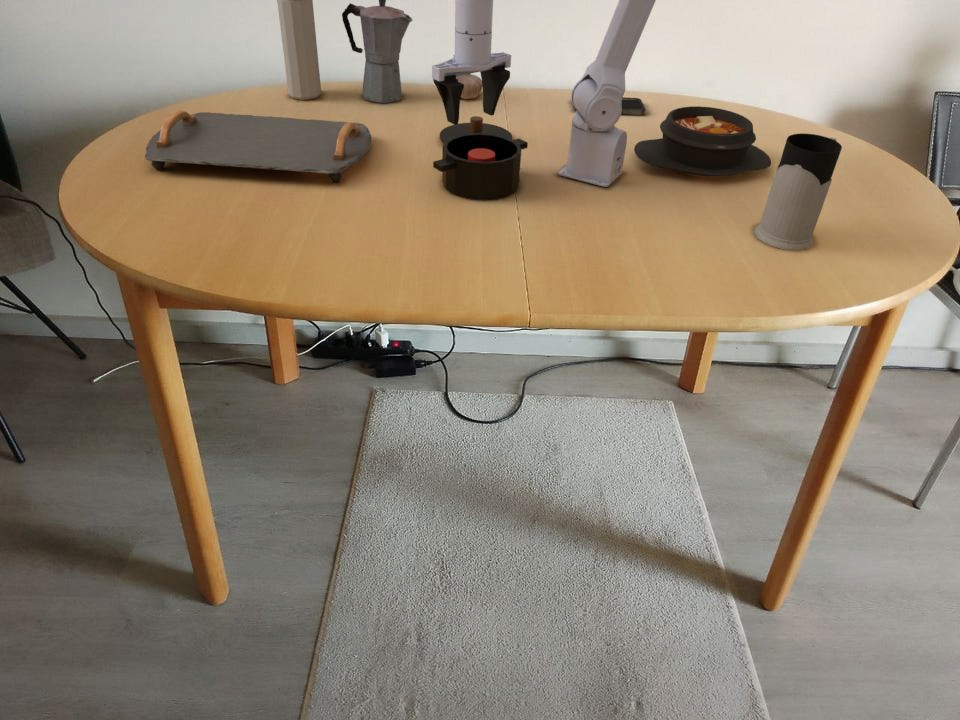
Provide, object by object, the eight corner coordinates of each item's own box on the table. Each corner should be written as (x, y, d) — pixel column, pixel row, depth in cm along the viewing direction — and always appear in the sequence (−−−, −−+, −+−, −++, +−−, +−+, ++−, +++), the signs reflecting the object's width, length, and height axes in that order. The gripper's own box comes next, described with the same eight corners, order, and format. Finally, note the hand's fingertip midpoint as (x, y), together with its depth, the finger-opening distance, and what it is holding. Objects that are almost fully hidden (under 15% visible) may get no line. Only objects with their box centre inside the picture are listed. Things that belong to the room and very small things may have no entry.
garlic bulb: (470, 88, 165) (471, 51, 160) (491, 97, 161) (492, 59, 156) (443, 94, 161) (444, 56, 156) (464, 103, 157) (465, 65, 152)
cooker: (545, 184, 125) (549, 148, 121) (461, 211, 116) (462, 173, 112) (497, 159, 133) (499, 125, 129) (415, 183, 124) (414, 146, 120)
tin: (498, 180, 125) (500, 152, 122) (485, 189, 122) (486, 161, 119) (475, 173, 127) (476, 146, 124) (462, 183, 124) (462, 154, 121)
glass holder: (744, 235, 113) (772, 142, 104) (783, 208, 121) (812, 118, 112) (799, 256, 108) (832, 159, 99) (835, 225, 117) (869, 134, 108)
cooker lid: (526, 144, 139) (528, 122, 137) (469, 160, 132) (470, 137, 130) (481, 123, 148) (482, 101, 145) (425, 137, 141) (424, 114, 138)
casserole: (643, 184, 127) (652, 137, 122) (623, 143, 142) (630, 100, 136) (783, 187, 128) (798, 140, 123) (749, 146, 143) (761, 104, 138)
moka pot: (408, 107, 153) (405, 4, 141) (339, 100, 156) (330, -2, 143) (420, 93, 161) (418, -6, 149) (353, 87, 163) (347, -12, 151)
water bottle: (320, 102, 154) (307, -30, 139) (283, 100, 154) (266, -32, 139) (328, 88, 162) (316, -38, 146) (292, 86, 161) (277, -40, 146)
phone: (572, 95, 160) (640, 98, 160) (572, 100, 161) (639, 103, 161) (575, 107, 154) (646, 110, 154) (574, 112, 154) (645, 115, 155)
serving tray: (130, 172, 123) (120, 136, 119) (186, 124, 141) (179, 92, 137) (355, 189, 121) (353, 153, 117) (382, 138, 139) (381, 106, 135)
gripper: (493, 19, 118) (489, 103, 126) (419, 30, 111) (421, 119, 119) (521, 28, 114) (516, 115, 122) (447, 41, 106) (446, 132, 115)
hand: (471, 118), depth 120 cm, fingers open, 7 cm apart
